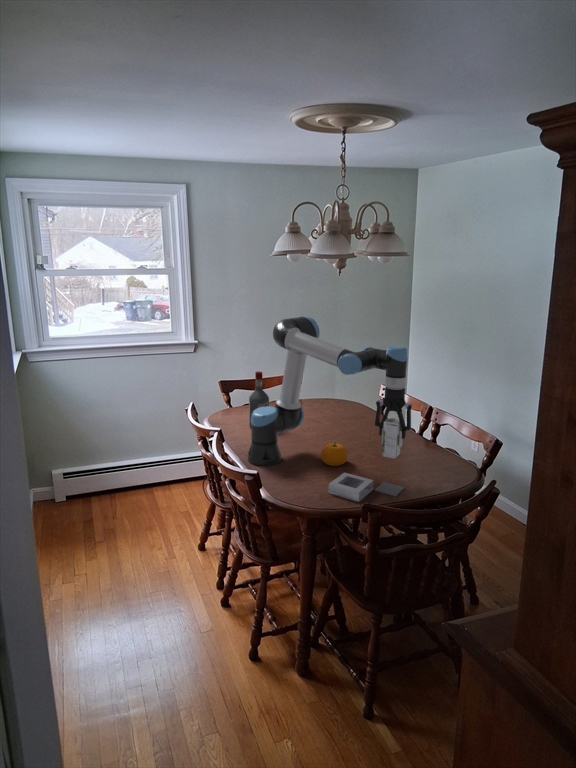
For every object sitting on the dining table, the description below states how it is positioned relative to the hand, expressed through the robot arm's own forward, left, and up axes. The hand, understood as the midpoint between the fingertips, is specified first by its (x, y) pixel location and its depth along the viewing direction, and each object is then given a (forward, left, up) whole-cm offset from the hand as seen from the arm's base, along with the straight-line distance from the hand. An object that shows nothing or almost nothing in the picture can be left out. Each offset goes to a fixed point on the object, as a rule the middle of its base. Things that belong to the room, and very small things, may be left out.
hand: (391, 444), depth 204 cm
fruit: (-31, +11, -19) cm, 38 cm away
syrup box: (0, 0, -5) cm, 5 cm away
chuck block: (-12, -10, -19) cm, 25 cm away
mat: (0, 0, -19) cm, 19 cm away
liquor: (-87, +31, -19) cm, 94 cm away
